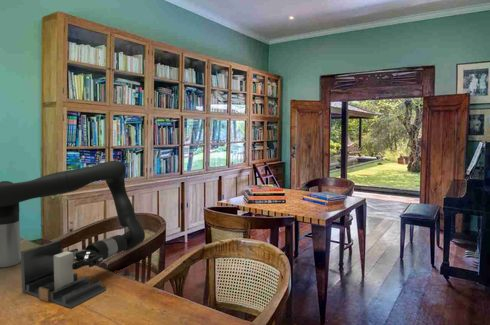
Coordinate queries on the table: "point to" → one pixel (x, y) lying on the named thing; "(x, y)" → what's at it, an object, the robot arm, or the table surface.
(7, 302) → the table surface
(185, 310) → the table surface
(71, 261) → the light grey block
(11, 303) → the table surface
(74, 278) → the rack
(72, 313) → the table surface
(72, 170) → the robot arm
